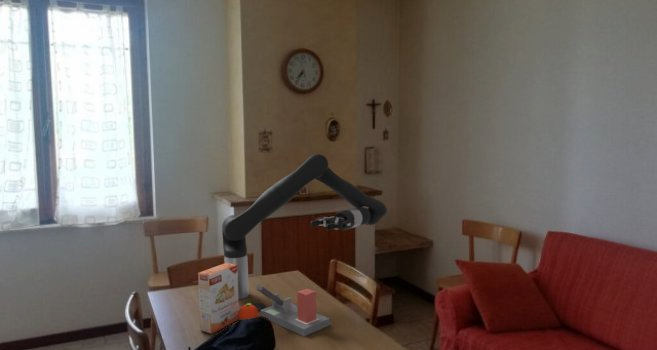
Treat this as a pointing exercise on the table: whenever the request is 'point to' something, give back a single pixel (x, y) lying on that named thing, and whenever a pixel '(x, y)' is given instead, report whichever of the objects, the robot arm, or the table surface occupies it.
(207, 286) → the cracker box
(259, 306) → the phone
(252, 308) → the clementine
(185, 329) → the table surface
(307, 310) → the red tall block
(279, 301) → the breaker lever
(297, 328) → the grey mounting base plate
